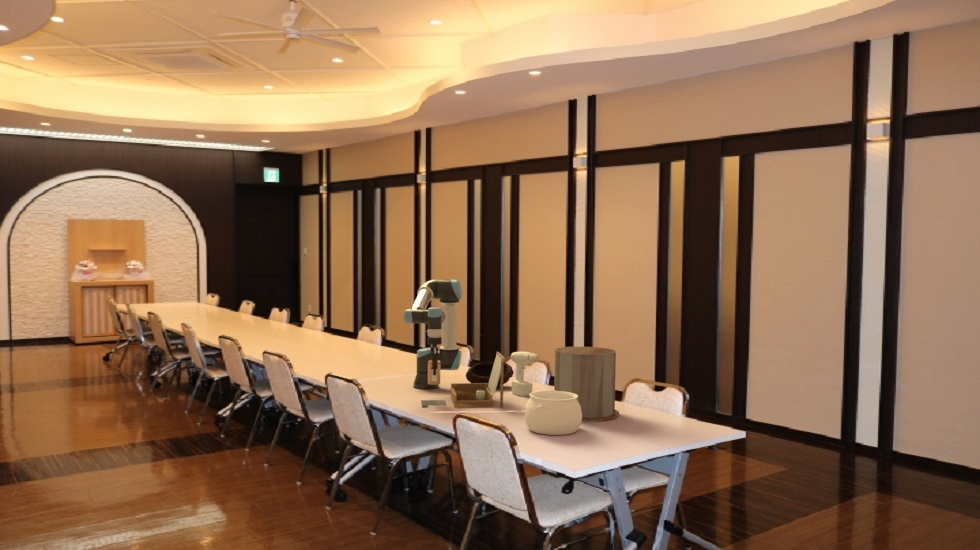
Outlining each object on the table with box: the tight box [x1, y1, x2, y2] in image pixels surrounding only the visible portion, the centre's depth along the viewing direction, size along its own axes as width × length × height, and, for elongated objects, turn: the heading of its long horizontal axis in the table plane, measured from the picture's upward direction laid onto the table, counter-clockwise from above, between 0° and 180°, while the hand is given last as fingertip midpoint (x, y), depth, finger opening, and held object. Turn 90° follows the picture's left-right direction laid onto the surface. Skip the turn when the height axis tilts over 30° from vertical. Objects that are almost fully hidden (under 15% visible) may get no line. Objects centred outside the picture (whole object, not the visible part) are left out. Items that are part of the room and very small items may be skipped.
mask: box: [465, 361, 514, 388], centre depth 448 cm, size 18×14×30 cm
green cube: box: [476, 390, 485, 401], centre depth 398 cm, size 5×5×6 cm
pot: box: [524, 390, 582, 436], centre depth 343 cm, size 29×26×16 cm
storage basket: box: [553, 346, 620, 423], centre depth 377 cm, size 35×35×32 cm
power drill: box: [510, 351, 540, 397], centre depth 424 cm, size 8×24×25 cm, turn 31°
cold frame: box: [450, 359, 505, 409], centre depth 396 cm, size 26×25×26 cm
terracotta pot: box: [428, 360, 441, 385], centre depth 394 cm, size 7×7×12 cm
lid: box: [488, 351, 506, 395], centre depth 399 cm, size 23×20×1 cm
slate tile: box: [420, 399, 448, 408], centre depth 395 cm, size 13×13×1 cm
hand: (434, 379), depth 394 cm, fingers closed on terracotta pot, 7 cm apart
